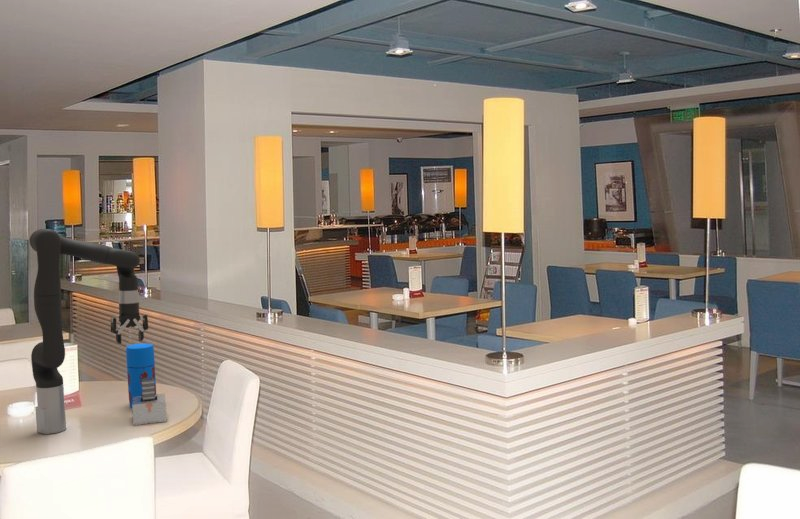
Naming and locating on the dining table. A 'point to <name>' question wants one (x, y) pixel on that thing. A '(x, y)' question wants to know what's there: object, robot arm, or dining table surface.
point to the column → (148, 389)
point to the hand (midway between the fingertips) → (130, 342)
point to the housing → (149, 410)
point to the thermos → (139, 368)
